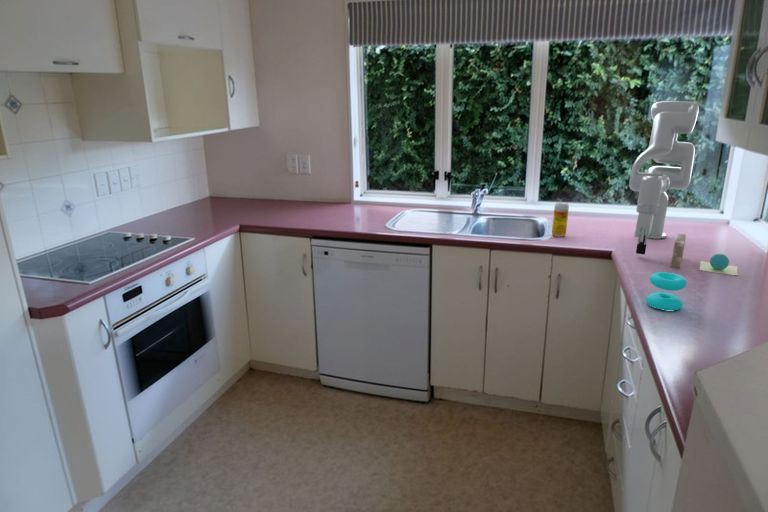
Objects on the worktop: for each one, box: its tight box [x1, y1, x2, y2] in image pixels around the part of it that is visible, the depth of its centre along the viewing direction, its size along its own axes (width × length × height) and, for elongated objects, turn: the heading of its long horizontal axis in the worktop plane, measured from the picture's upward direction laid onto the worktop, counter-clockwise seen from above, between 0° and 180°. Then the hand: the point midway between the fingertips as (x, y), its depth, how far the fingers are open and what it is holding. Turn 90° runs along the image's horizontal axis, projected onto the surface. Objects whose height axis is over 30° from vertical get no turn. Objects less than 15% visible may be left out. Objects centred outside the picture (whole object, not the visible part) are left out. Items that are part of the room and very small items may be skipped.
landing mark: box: [699, 261, 739, 277], centre depth 199 cm, size 12×12×1 cm
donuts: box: [645, 271, 688, 311], centre depth 163 cm, size 10×10×10 cm
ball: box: [709, 253, 730, 270], centre depth 197 cm, size 6×6×6 cm
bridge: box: [670, 233, 687, 269], centre depth 205 cm, size 3×15×10 cm, turn 149°
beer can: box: [551, 201, 570, 238], centre depth 241 cm, size 6×6×15 cm
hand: (640, 253), depth 212 cm, fingers closed
